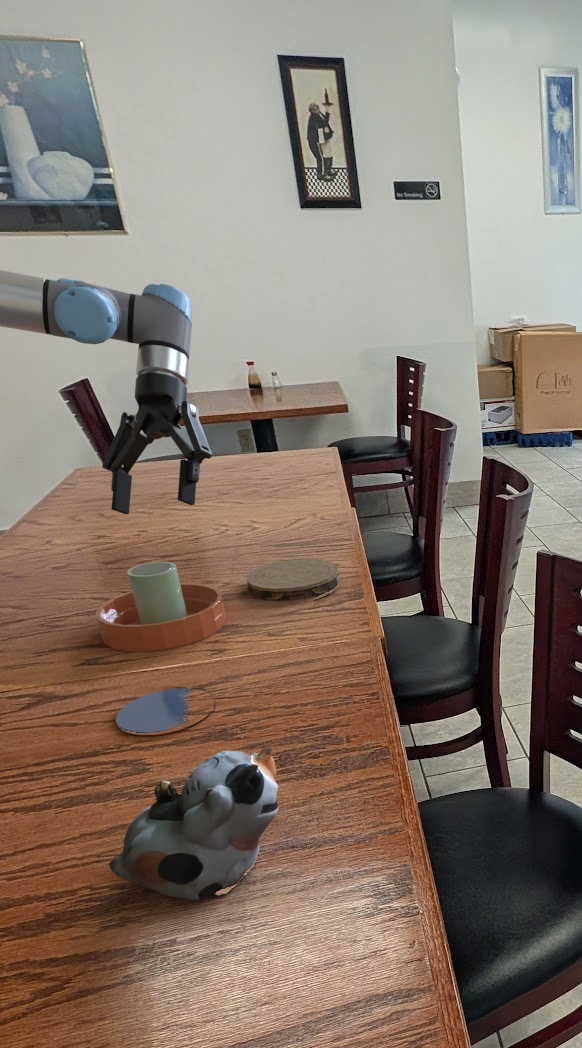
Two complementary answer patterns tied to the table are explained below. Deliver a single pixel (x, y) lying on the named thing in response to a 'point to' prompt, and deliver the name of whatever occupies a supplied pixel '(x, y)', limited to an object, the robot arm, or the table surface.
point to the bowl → (130, 636)
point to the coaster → (154, 711)
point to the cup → (157, 592)
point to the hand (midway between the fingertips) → (152, 507)
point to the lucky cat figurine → (202, 827)
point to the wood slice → (293, 579)
